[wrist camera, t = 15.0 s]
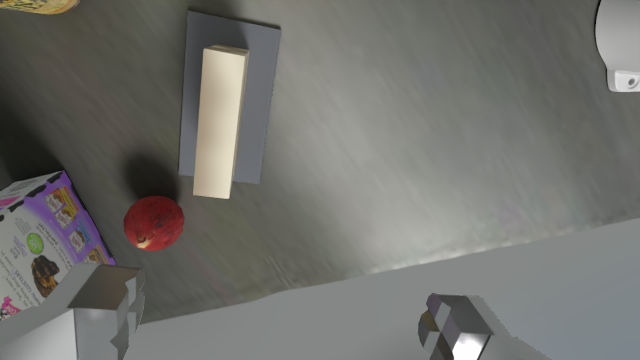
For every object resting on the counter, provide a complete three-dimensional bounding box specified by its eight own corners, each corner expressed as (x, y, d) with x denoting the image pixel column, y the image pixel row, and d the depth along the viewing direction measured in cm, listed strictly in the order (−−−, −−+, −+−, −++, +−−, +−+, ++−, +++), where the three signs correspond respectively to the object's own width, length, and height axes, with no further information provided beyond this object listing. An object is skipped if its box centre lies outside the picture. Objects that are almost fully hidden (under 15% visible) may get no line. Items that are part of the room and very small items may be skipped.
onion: (165, 174, 40) (143, 206, 33) (200, 210, 42) (187, 247, 35) (125, 203, 41) (95, 241, 33) (162, 237, 43) (142, 279, 36)
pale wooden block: (249, 50, 36) (244, 56, 27) (236, 160, 40) (228, 198, 31) (218, 44, 35) (203, 48, 26) (209, 157, 40) (193, 194, 30)
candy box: (11, 181, 38) (-154, 279, 23) (67, 168, 38) (-60, 256, 23) (73, 281, 43) (-27, 413, 28) (121, 269, 44) (47, 393, 29)
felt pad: (281, 30, 36) (281, 30, 36) (259, 182, 42) (259, 184, 42) (188, 10, 34) (187, 10, 34) (179, 173, 40) (178, 174, 40)
